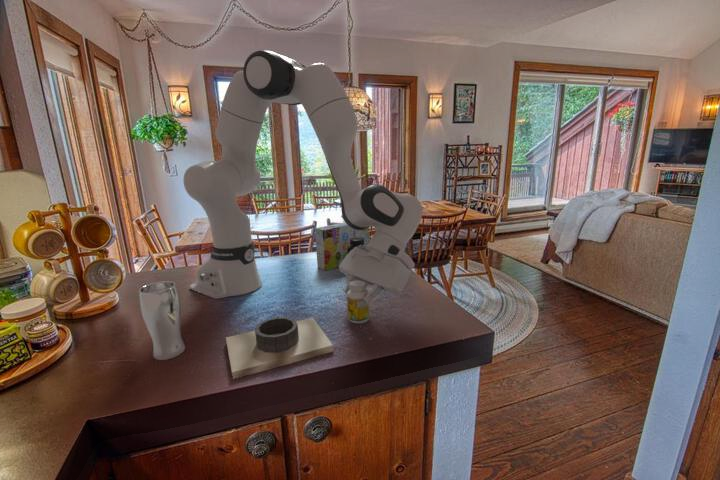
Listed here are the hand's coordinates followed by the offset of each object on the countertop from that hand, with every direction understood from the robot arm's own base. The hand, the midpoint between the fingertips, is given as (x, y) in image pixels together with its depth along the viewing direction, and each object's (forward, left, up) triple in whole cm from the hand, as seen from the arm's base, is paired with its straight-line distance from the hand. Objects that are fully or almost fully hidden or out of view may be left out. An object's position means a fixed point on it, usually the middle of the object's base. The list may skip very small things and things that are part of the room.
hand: (356, 297), depth 85 cm
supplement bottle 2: (0, +1, -6) cm, 6 cm away
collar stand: (-11, -17, -6) cm, 21 cm away
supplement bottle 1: (-14, +32, -6) cm, 35 cm away
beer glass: (-32, -27, -6) cm, 42 cm away
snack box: (-23, +40, -6) cm, 46 cm away
